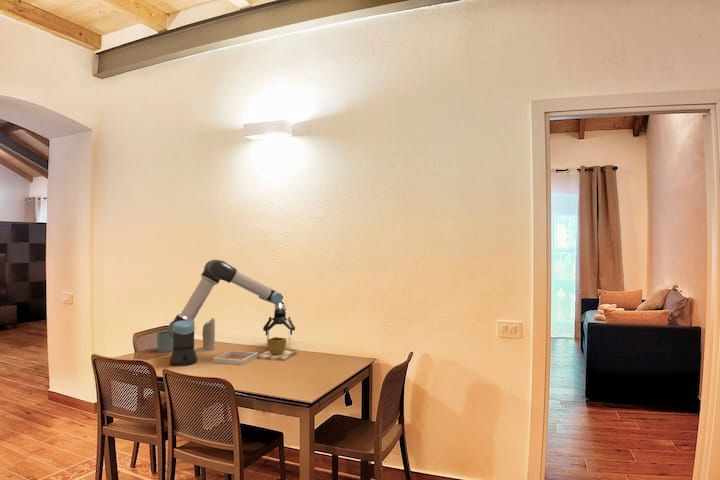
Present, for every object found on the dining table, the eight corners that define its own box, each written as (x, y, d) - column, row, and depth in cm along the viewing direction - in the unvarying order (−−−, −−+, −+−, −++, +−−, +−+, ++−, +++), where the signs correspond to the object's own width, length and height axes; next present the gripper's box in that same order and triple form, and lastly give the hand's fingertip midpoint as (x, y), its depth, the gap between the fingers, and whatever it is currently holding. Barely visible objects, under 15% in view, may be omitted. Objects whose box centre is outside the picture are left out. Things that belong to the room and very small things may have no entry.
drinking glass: (153, 351, 282) (153, 333, 283) (164, 348, 292) (164, 330, 292) (166, 353, 280) (166, 334, 280) (177, 349, 289) (177, 331, 289)
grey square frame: (212, 362, 257) (212, 358, 257) (230, 354, 275) (230, 350, 275) (242, 364, 252) (242, 360, 252) (258, 356, 270) (258, 352, 270)
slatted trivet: (257, 358, 266) (257, 356, 266) (270, 351, 283) (270, 349, 283) (284, 360, 261) (284, 358, 261) (296, 353, 278) (296, 351, 278)
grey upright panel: (192, 349, 290) (192, 318, 290) (214, 347, 294) (214, 317, 294) (191, 351, 283) (191, 320, 283) (214, 350, 287) (214, 319, 288)
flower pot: (286, 352, 274) (286, 338, 274) (279, 355, 266) (279, 341, 266) (274, 351, 278) (274, 337, 278) (266, 354, 269) (266, 339, 270)
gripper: (299, 314, 300) (298, 341, 285) (261, 315, 297) (259, 343, 282) (298, 308, 295) (298, 335, 280) (260, 308, 292) (258, 336, 277)
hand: (278, 339), depth 281 cm, fingers open, 13 cm apart
